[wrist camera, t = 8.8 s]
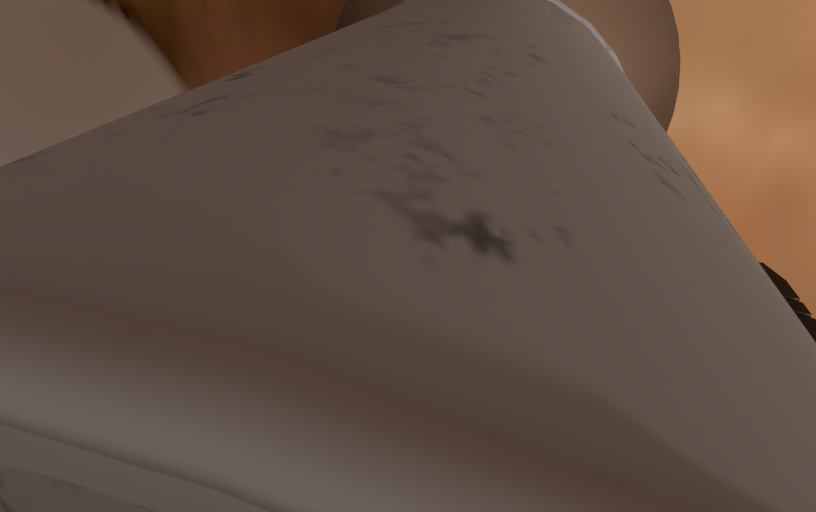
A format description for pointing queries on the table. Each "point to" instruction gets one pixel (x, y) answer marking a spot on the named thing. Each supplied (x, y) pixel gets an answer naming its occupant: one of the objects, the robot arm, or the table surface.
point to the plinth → (608, 42)
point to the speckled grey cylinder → (395, 293)
